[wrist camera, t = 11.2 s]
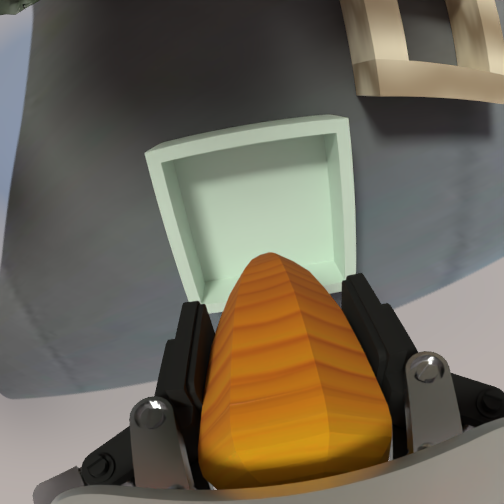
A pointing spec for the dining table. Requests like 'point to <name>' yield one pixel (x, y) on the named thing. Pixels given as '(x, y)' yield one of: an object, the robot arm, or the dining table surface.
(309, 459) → the carrot
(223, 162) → the tray
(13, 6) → the rose bouquet
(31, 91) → the dining table surface
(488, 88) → the wooden stand
